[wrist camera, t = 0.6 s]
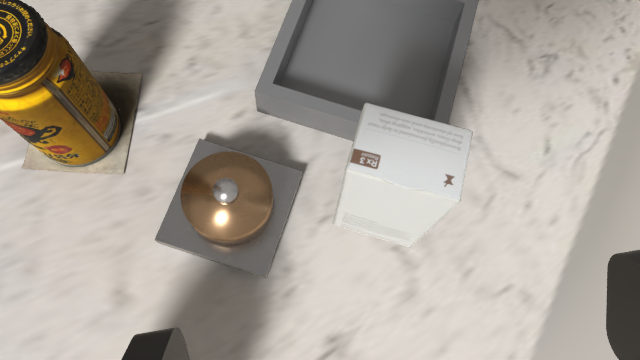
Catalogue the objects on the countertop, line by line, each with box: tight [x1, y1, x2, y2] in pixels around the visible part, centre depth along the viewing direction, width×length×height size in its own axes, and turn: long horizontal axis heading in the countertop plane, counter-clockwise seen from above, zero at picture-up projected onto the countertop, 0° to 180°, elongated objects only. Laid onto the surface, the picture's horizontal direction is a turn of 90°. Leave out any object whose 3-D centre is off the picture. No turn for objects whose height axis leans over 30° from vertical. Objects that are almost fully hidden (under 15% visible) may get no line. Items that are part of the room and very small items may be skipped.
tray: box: [255, 0, 479, 141], centre depth 39 cm, size 14×14×3 cm
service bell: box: [155, 139, 303, 278], centre depth 34 cm, size 8×8×4 cm
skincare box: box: [333, 103, 473, 247], centre depth 30 cm, size 6×4×12 cm
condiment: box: [0, 0, 142, 175], centre depth 32 cm, size 7×8×12 cm
